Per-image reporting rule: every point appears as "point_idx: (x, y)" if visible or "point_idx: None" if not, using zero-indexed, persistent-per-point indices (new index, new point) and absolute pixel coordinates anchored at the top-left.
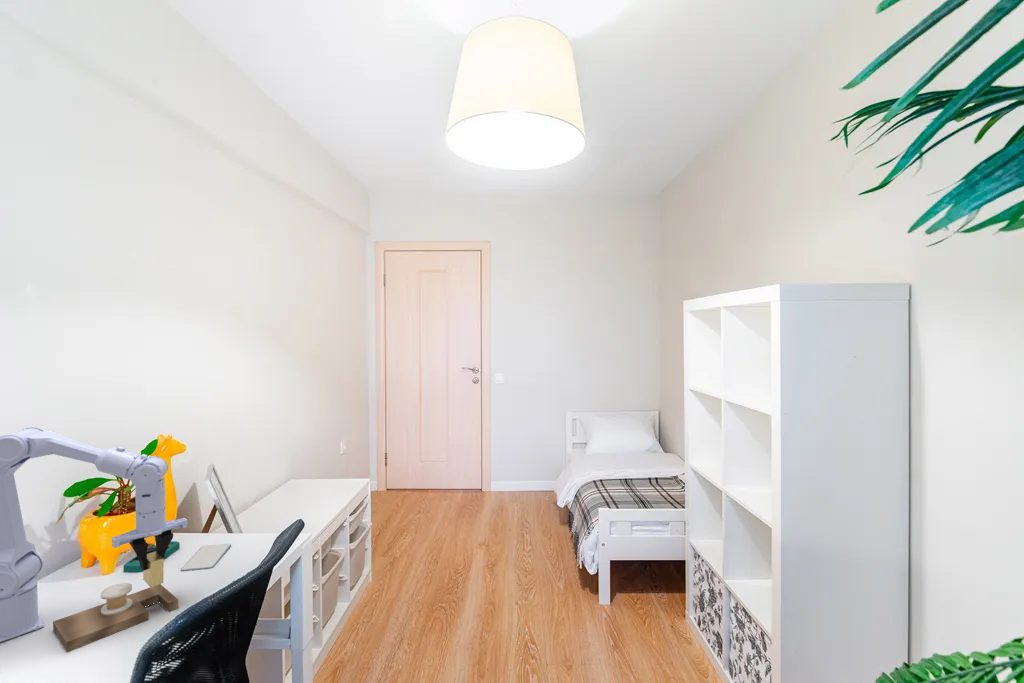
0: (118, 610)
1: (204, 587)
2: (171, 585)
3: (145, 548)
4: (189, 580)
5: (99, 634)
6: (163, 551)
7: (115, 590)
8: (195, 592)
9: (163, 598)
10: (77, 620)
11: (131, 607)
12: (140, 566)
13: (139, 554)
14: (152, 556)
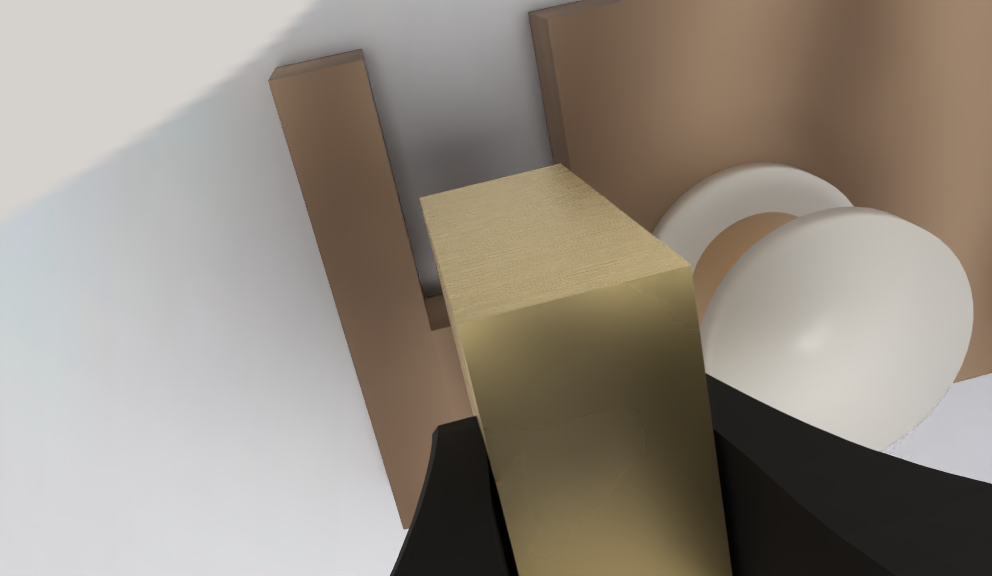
0: (768, 168)
1: (38, 350)
2: (314, 545)
3: (936, 551)
4: (173, 557)
5: None
6: (448, 547)
7: (859, 328)
8: (121, 297)
9: (399, 213)
10: (989, 252)
11: (653, 213)
12: None
13: (955, 479)
14: (625, 514)
